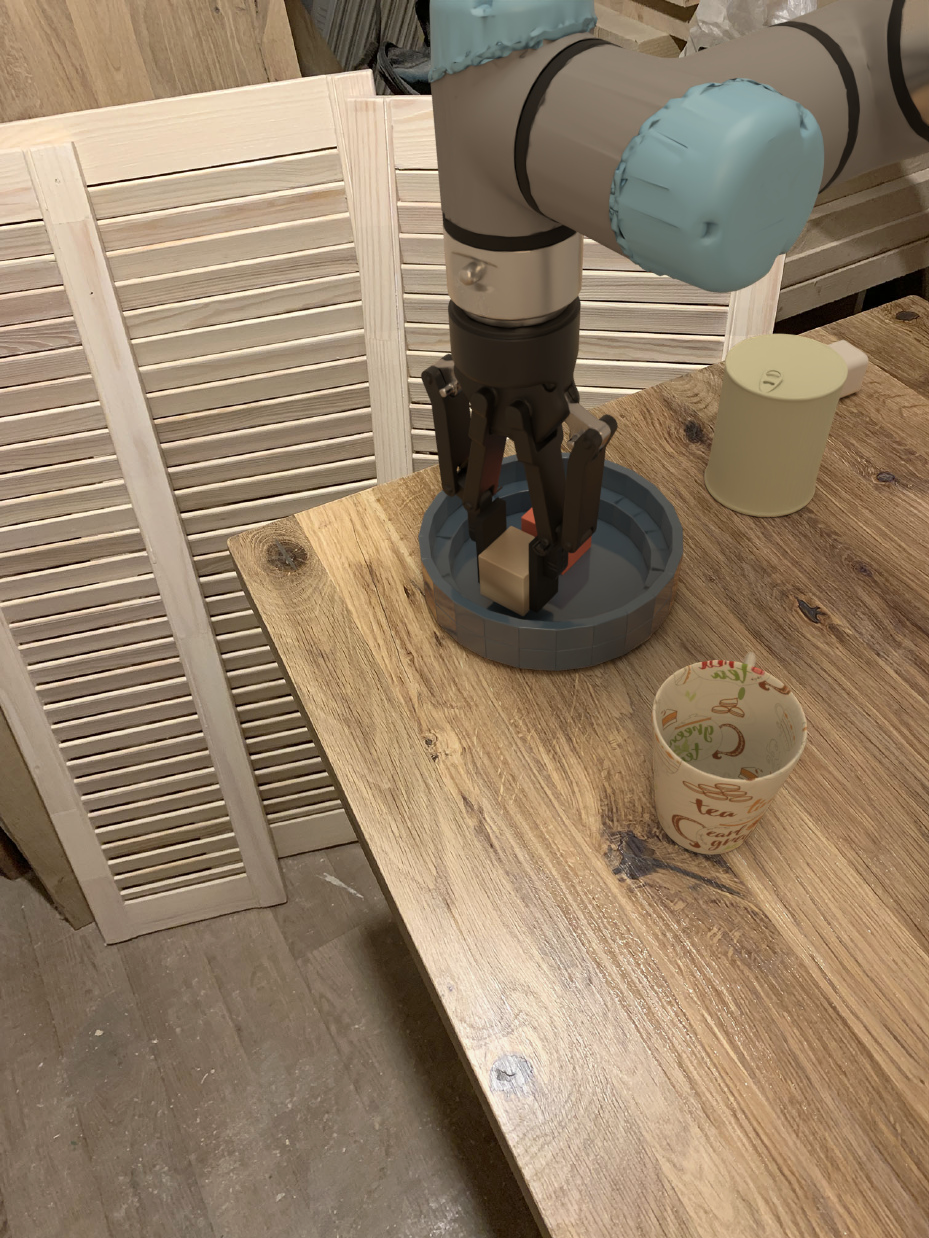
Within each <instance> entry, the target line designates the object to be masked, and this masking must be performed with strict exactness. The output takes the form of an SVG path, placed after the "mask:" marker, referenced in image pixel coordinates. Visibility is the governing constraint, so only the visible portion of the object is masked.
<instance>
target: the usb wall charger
mask: <svg viewBox="0 0 929 1238" xmlns="http://www.w3.org/2000/svg"><path fill="white" fill-rule="evenodd" d="M826 345H827V346H829V347H831V348H832V349H834V350H835V351H836V352H837V353H839V354H840V355H841V356H842V358H843V359H844V361H845V362H846V365H847V368H848V375H847V379H846V381H845V383H844V386H843V389H842V392H841V395H840V398H839V399H841V398H844V397H847V396H850V395H852V394H855V393H857V392H859V391H861V389H862V386H863V383H864V379H865V376H866V372H867V369H868V366H869V357H868V355H867V353H865V352H864V351H862V350H860V349H859V348H858V347H856V346H854V345H853V344H851V343H850V342H849V341H847V340H845V339H840V340H837V341H835V342H832V343H828V344H826Z"/></svg>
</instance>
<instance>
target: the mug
mask: <svg viewBox="0 0 929 1238" xmlns="http://www.w3.org/2000/svg"><path fill="white" fill-rule="evenodd" d="M756 662H757V655H756V654H755V652H753V651H749V652H747V653H746V655H745V656H744V658H743V662H740V661H735V660H734V661H733V660H727V659H726V660H724V659H714V660H713V659H712V660H704V661H699V662H694V663H691V664H689V665H686V666H683V667H682V668H680V669H678V670H676V671H675V672H674V673H672V674H670V675H669V676H668V677H667V678H666V679H665V680H664V682H663V683H662V684H661V685H660V687H659V688H658V689H657V691H656V694H655V696H654V698H653V702H652V707H651V716H650V724H651V742H652V743H651V744H652V745H651V746H652V762H653V763H652V764H653V778H654V781H653V782H654V800H655V801H654V802H655V811H656V816H657V819H658V822H659V824H660V826H661V828H662V829H663V831H664V832H665V833H666V835H667V836H668V837H669V838H670V839H671V840H672V841H673V842H675V843H676V844H677V845H679V846H680V847H682V848H684V849H686V850H687V851H691V852H694V853H697V854H701V855H721V854H726V853H729V852H732V851H733V850H736V849H737V848H739V847H740V846H742V845H743V844H744V843H745V842H746V841H747V840H748V838H749V837H750V836H751V835H752V833H753V831H754V830H755V829H756V827H757V825H758V824H759V822H761V820H762V818H763V816H764V815H765V813H766V812H767V810H768V809H769V807H770V806H771V804H772V803H773V801H774V799H775V798H776V796H777V795H778V793H779V792H780V790H781V789H782V787H783V786H784V784H785V783H786V781H787V779H788V778H789V777H790V775H791V774H792V772H793V770H794V769H795V768H796V765H797V764H798V763H799V761H800V759H801V757H802V755H803V752H804V750H805V747H806V744H807V741H808V722H807V717H806V714H805V711H804V708H803V707H802V704H801V703H800V701H799V700H798V698H797V697H796V695H795V694H794V693H793V692H792V691H791V689H790V688H789V687H788V686H787V685H785V684H784V683H783V682H782V681H781V680H780V679H778V678H777V677H775V676H774V675H772V674H771V673H768V672H767V671H765V670H763V669H761V668H759V667H757V666H756Z"/></svg>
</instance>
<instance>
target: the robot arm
mask: <svg viewBox="0 0 929 1238" xmlns="http://www.w3.org/2000/svg"><path fill="white" fill-rule="evenodd" d="M598 21H599V18H598V16H597V14H596V9H595V0H429V27H430V28H429V29H430V30H429V32H430V37H429V38H430V39H429V40H430V69H429V71H428V74H427V81H428V83H429V84H430V92H431V103H432V105H431V106H432V116H433V127H434V128H433V129H434V138H435V140H434V141H435V152H436V164H437V174H438V187H439V195H440V196H439V199H440V210H441V214H442V215H441V217H442V235H443V249H444V263H445V277H446V289H447V295H448V296H449V298H450V299H449V301H448V304H447V315H448V328H449V331H448V332H449V342H450V353H446V354H445V355H443V356H442V357H441V358H439V359H438V360H436V361H435V362H434V363H432V364H431V365H430V366H428V367H427V368H426V369H424V370H423V371H422V372H421V374H420V378H421V381H422V384H423V386H424V390H425V392H426V394H427V396H428V399H429V402H430V405H431V412H432V413H431V414H432V421H433V429H434V436H435V445H436V452H437V459H438V460H437V461H438V468H439V475H440V482H441V483H440V484H441V489H442V490H443V491H444V493H445V494H446V495H448V496H450V497H453V496H455V495H457V496H458V497H459V498H460V499H461V500H463V501H462V504H463V507H464V508H465V510H466V511H467V514H468V529H469V536H470V538H471V540H472V541H474V542H476V553H477V571H478V583H480V576H479V558H478V556H479V555H480V554H481V553H482V552H483V551H484V550H485V549H487V548H488V547H489V546H490V545H491V544H492V543H493V542H494V541H495V540H496V539H497V538H498V537H500V536H501V535H502V534H503V533H504V532H505V531H506V530H507V523H506V501H505V500H503V499H501V498H499V497H497V498H496V499H495V500H494V501H492V497H493V496H494V495H495V494H496V493H497V492H498V491H500V490H501V489H502V486H501V487H500V488H497V487H498V486H499V484H498V481H499V476H500V471H501V466H502V461H503V458H504V457H505V456H504V455H505V451H506V450H505V449H506V445H507V440H508V439H509V440H510V441H512V442H513V445H514V450H515V455H516V456H517V460H518V461H519V462H522V463H523V464H524V468H525V473H526V479H527V484H528V489H529V494H530V499H531V504H532V509H533V514H534V520H535V525H536V530H537V536H536V537H535V538H534V539H533V540H532V541H531V542H530V543H529V609H530V610H532V611H533V612H535V613H538V612H539V611H540V610H541V609H542V608H543V607H544V606H545V605H546V604H547V603H548V602H549V601H550V600H551V599H552V598H553V597H554V595H555V594H556V593H557V592H558V582H559V575H560V574H561V573H562V572H563V571H564V570H565V569H566V568H567V566H568V553H575V552H576V551H577V550H578V549H579V548H580V547H581V546H582V545H583V544H584V543H585V542H586V541H587V540H588V539H589V538H590V537H591V536H592V535H593V534H594V533H595V532H596V529H597V520H598V512H599V504H600V495H601V487H602V478H603V470H604V461H605V459H606V454H607V453H606V451H607V447H608V445H609V443H610V442H611V440H612V439H613V437H614V435H615V434H616V432H617V430H618V426H619V425H618V421H617V420H616V418H615V417H614V416H612V415H611V414H607V413H606V414H603V415H601V416H600V418H598V417H597V416H595V415H594V414H592V412H590V411H589V410H588V409H587V408H585V407H584V406H583V405H582V404H581V403H580V401H581V396H580V392H579V389H578V387H577V385H576V381H575V376H574V374H575V369H576V365H577V361H578V356H579V351H580V332H581V331H580V330H581V329H580V328H581V308H582V307H581V306H582V303H581V299H580V296H579V295H580V293H581V291H582V289H583V288H582V287H583V269H584V244H585V243H584V242H585V241H584V239H585V238H584V237H586V238H588V239H589V240H591V241H593V242H595V243H597V244H599V245H601V246H603V247H605V248H607V249H609V250H611V251H612V252H614V253H616V254H618V255H620V256H622V257H624V258H626V259H628V260H629V261H631V262H632V263H633V264H634V265H636V266H639V268H641V269H642V270H643V271H645V272H647V273H649V272H651V273H652V274H654V275H656V276H658V277H663V276H667V277H669V278H671V279H673V280H677V281H679V282H683V283H685V284H688V285H690V286H691V287H692V286H693V287H695V288H698V289H701V290H703V291H705V292H709V293H718V294H728V293H733V292H738V291H741V290H743V289H745V288H749V287H751V286H753V285H754V284H756V283H758V282H759V281H760V280H762V279H763V278H764V277H766V276H767V275H768V274H770V272H771V270H772V269H773V265H774V264H775V262H776V260H777V258H778V257H779V256H783V255H786V254H787V253H789V251H790V250H791V249H792V248H793V246H794V245H795V243H796V242H797V241H798V239H799V237H800V236H801V234H802V232H803V231H804V228H805V226H806V225H807V222H808V220H809V218H810V216H811V215H812V213H813V210H814V207H815V204H816V201H817V198H818V195H820V194H822V193H823V192H825V191H827V190H829V189H832V188H834V187H837V186H838V185H839V186H840V185H841V184H843V183H846V182H848V181H851V180H853V179H855V178H857V177H860V176H863V175H864V174H867V173H870V172H873V171H875V170H878V169H880V168H884V167H886V166H891V165H893V164H896V163H899V162H903V161H905V160H908V159H913V158H915V157H918V156H923V155H925V154H929V0H836V1H833V2H831V3H829V4H826V5H824V6H821V7H819V8H816V9H814V10H812V11H809V12H806V13H804V14H801V15H798V16H796V17H793V18H791V19H789V20H786V21H783V22H779V23H774V24H771V25H769V26H765V27H763V28H760V29H758V30H754V31H751V32H749V33H747V34H744V35H740V36H738V37H735V38H732V39H729V40H725V41H723V42H721V43H718V44H715V45H712V46H709V47H707V48H704V49H701V50H698V51H696V52H693V53H690V54H688V55H684V56H681V57H680V56H679V57H663V56H662V57H661V56H657V55H654V54H648V53H644V52H640V51H636V50H633V49H629V48H625V47H623V46H621V45H618V44H616V43H613V42H611V41H609V40H607V39H604V38H600V37H597V36H595V35H594V34H595V28H597V23H598ZM564 423H565V424H566V425H567V426H568V429H569V434H568V438H569V440H568V441H566V446H567V448H568V449H569V450H571V451H570V452H569V453H570V455H569V459H568V464H567V474H566V477H565V471H564V465H563V459H562V453H561V452H562V444H563V442H564V438H565V435H564V429H563V424H564Z"/></svg>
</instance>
